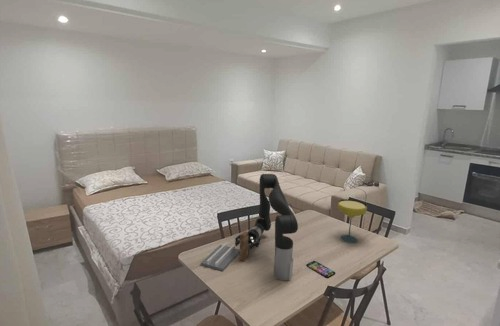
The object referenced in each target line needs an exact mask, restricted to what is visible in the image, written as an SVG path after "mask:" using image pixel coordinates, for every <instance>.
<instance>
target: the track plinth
mask: <svg viewBox="0 0 500 326" xmlns="http://www.w3.org/2000/svg"><path fill="white" fill-rule="evenodd" d="M238 255H240V248H236V246H235V244H233V245H231V246H230V247H229V246H228V242H225V243H224V244H223V245H221V244H220V245H218V246H217V247H216V248H215V249H214V250H213V251H212V252H211V253H210V254H209V255H207V256H206V257H205V258H204V259H203V260H202V261H201V262H200V265H201V267H206V268H210V269H213V270H217V271H220V272H224V271H225V270H226V269H227V268H228V267H229V266H230V265H231V263H232V262H233V261H234V260H235V259H236V258H237V256H238Z"/></svg>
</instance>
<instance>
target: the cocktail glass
mask: <svg viewBox="0 0 500 326" xmlns="http://www.w3.org/2000/svg"><path fill="white" fill-rule="evenodd" d="M337 209H338V210H339V211H340V212H341V213H342V214H344V215H346V216H348V218H349V219H350V220H349V228H348V234H343V235H341V236H340V240H341V239H342V241H343V242H344V243H349V244H354V243H357V242H358V238H357V237H355V236H353V235H351V226H352V220H353V218H355V217H359V216H362V215H364V214H366V212H367V211H368V206H367V204H366V203H365V202H363V201H361V200H356V199H355V200H354V199H341V200H338V202H337Z"/></svg>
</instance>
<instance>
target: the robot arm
mask: <svg viewBox="0 0 500 326" xmlns="http://www.w3.org/2000/svg"><path fill="white" fill-rule="evenodd" d="M259 176H260V177H259V185H258V186H259V209H258V216H259V217H258V218H257V219H256V221H255V224H254V225H253V227H250V229H249V230H247V232H248V250H252V249H253V248H258V247H259V245H260V244H261V235H263V233H264V231H265V232H269V230H270V229H271V227H272V222H271V217H270V215H271V214H270V213H271V208H272V210H274V211H275V212H276V213H278V214H279V215H277V216H275V218H274V257H273V276H274V277H275V279H277V280H280V281H290V280H291V278H292V276H293V270H294V269H293V268H294V258H293V254H294V253H293V250H294V241H293V239H292V238H290V237H289V236H287V235H289V234H295V233H297V231H298V229H299V223H298V220H297V218H296V216H295V214H294V213H293V211H292V209H291V207H290V206H289V204H288V202H287V201H288V200H287V199H286V196H285V194H284V193H283V191H282V188H281V186H280V182H279V180H278V175H276V174H274V173H261V175H259ZM265 189H271V191H270V192H269V194H268V197H267V195H266V192H265ZM234 241H235V243H234V245H235V247H238V246H240V234H239V235H237V236H236V237H235V240H234Z"/></svg>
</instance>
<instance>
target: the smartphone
mask: <svg viewBox="0 0 500 326" xmlns="http://www.w3.org/2000/svg"><path fill="white" fill-rule="evenodd" d="M305 265H306V267H307V268H309V269H310V270H312V271H314V272H315V273H316V274H318V275H320V276H322V277H324V278H325V279H330V278H331V277H333V276H334V275H336V271H334V270H332V269H331V268H329V267H327V266H326V265H323V263H322V264H321V263H320V262H318V261H317V260H312V261H311V262H308V263H307V264H305ZM329 277H330V278H329Z"/></svg>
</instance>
